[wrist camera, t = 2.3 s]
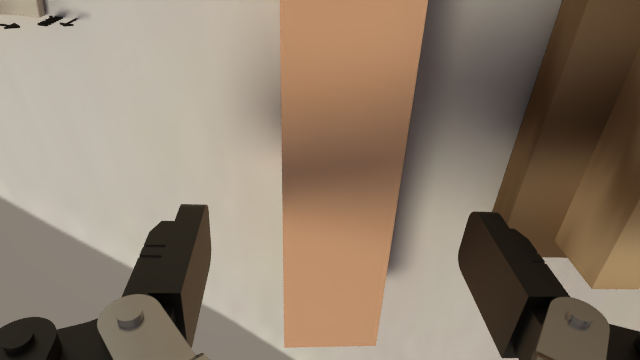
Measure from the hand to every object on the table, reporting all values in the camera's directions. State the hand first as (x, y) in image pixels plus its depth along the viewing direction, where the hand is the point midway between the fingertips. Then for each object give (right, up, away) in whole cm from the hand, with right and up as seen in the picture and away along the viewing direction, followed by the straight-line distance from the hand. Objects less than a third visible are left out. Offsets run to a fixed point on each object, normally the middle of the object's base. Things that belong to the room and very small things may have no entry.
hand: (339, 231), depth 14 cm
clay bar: (0, +4, +5) cm, 6 cm away
